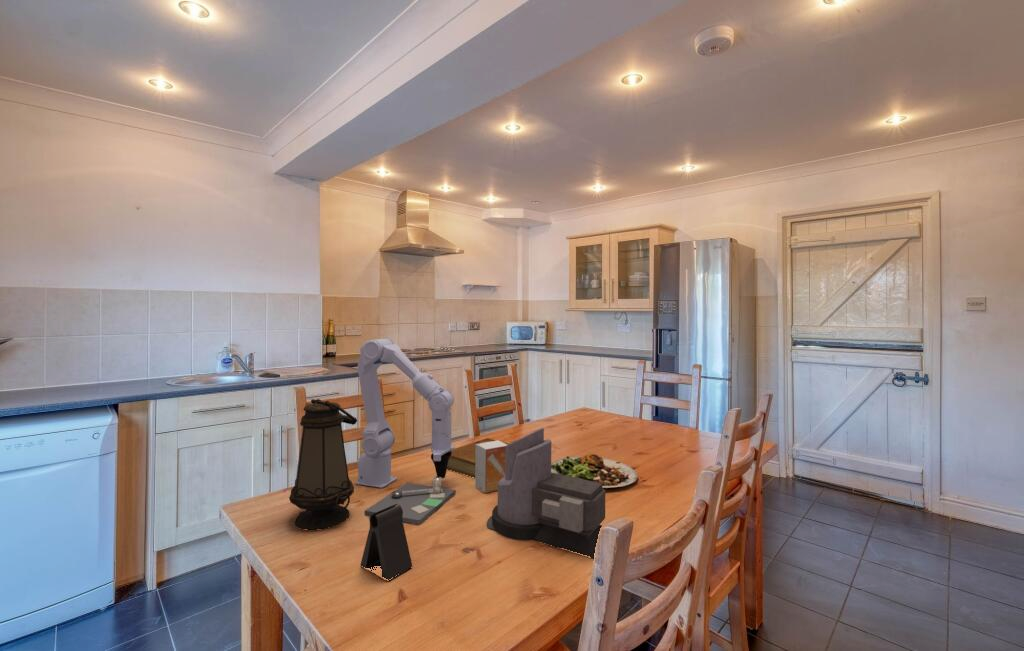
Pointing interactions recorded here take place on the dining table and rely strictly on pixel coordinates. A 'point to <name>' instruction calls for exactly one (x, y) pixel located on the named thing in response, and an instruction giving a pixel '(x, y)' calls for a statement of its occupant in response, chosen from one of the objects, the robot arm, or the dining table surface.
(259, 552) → the dining table surface
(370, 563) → the black tent sign
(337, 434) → the lantern
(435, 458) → the robot arm
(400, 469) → the dining table surface
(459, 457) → the diary
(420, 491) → the metal crank handle
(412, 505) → the dial board
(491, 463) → the small box
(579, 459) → the plate of food
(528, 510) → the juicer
